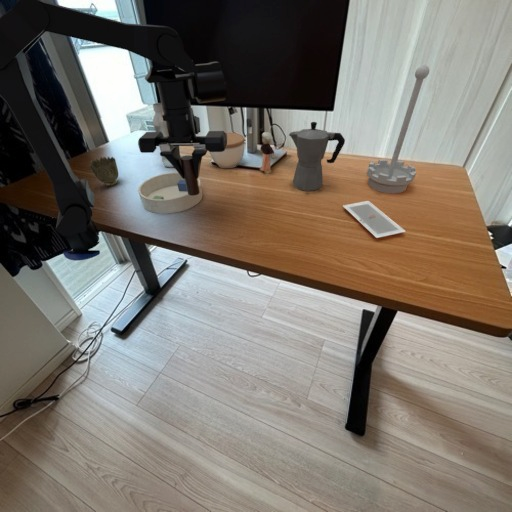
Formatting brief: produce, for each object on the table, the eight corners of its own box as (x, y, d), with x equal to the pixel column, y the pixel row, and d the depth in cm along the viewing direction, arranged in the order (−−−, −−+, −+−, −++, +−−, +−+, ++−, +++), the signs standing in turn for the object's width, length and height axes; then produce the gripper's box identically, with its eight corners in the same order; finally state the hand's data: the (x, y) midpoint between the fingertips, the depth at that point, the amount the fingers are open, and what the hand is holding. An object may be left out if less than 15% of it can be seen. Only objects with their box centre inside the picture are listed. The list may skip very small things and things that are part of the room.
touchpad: (367, 204, 74) (369, 197, 72) (404, 235, 63) (407, 227, 62) (341, 209, 72) (343, 201, 71) (375, 241, 61) (377, 234, 60)
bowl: (195, 215, 72) (192, 200, 69) (133, 214, 73) (127, 200, 70) (207, 185, 85) (205, 172, 82) (154, 185, 86) (150, 172, 83)
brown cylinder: (198, 195, 67) (191, 160, 61) (186, 195, 67) (178, 160, 61) (200, 190, 69) (194, 155, 63) (189, 190, 69) (182, 155, 63)
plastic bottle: (162, 164, 99) (146, 103, 86) (181, 161, 101) (168, 100, 87) (164, 171, 94) (148, 107, 81) (184, 167, 96) (170, 105, 83)
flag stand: (412, 197, 76) (463, 69, 56) (363, 191, 79) (395, 68, 59) (408, 178, 85) (451, 61, 65) (365, 173, 88) (393, 61, 69)
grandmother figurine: (254, 170, 93) (253, 131, 84) (262, 166, 95) (262, 128, 86) (270, 176, 89) (271, 136, 80) (278, 172, 91) (279, 133, 82)
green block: (161, 209, 74) (158, 201, 72) (153, 208, 75) (150, 200, 73) (165, 204, 76) (163, 196, 74) (157, 203, 76) (155, 195, 75)
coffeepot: (283, 188, 82) (285, 125, 70) (289, 175, 89) (293, 116, 77) (334, 195, 78) (346, 129, 66) (337, 180, 85) (349, 119, 73)
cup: (101, 182, 89) (90, 158, 84) (124, 178, 91) (115, 154, 85) (98, 192, 84) (86, 167, 78) (123, 188, 85) (113, 163, 80)
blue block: (186, 191, 81) (185, 183, 80) (178, 191, 82) (177, 183, 80) (189, 187, 83) (187, 180, 81) (181, 187, 83) (180, 179, 82)
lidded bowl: (223, 175, 90) (219, 141, 83) (204, 164, 98) (199, 132, 91) (252, 164, 96) (251, 132, 89) (232, 155, 104) (229, 124, 96)
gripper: (226, 96, 61) (232, 164, 71) (146, 98, 62) (163, 164, 72) (219, 109, 52) (227, 183, 62) (126, 110, 53) (149, 183, 64)
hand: (190, 177), depth 65 cm, fingers closed on brown cylinder, 3 cm apart
